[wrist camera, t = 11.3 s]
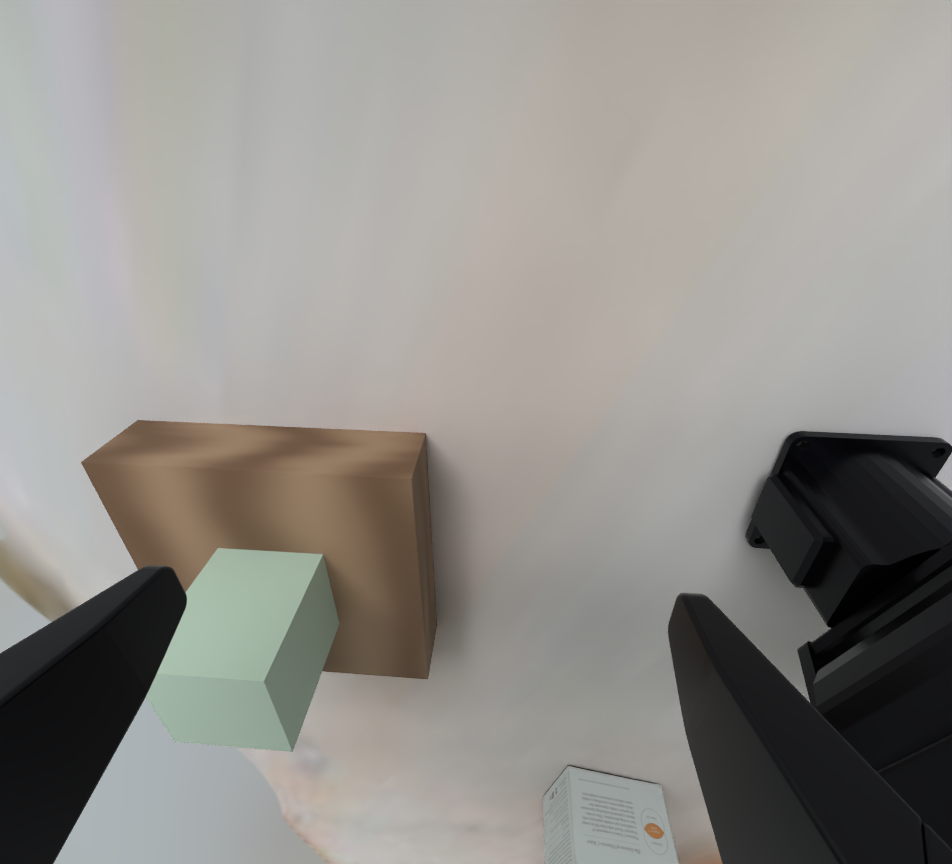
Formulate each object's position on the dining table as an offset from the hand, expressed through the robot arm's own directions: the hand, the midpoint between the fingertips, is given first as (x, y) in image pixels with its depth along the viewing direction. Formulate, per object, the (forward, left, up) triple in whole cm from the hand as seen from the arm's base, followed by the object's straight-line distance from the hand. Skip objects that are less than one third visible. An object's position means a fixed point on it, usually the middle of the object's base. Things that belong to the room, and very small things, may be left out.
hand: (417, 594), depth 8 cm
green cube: (+9, +12, -9) cm, 18 cm away
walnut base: (+9, +12, -13) cm, 20 cm away
